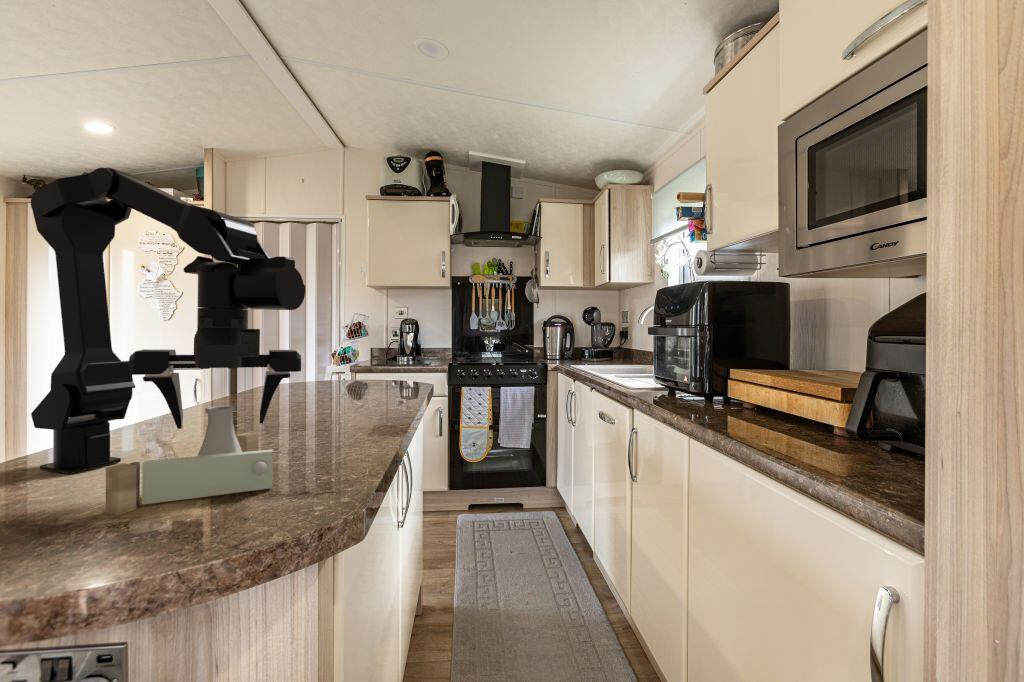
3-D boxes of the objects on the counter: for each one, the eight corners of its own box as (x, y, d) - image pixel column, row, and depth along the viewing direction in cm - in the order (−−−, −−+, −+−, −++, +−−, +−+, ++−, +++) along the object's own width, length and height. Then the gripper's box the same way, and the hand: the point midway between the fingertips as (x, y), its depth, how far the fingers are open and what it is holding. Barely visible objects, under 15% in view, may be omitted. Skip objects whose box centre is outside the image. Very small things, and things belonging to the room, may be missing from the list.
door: (144, 500, 53) (144, 460, 53) (272, 485, 60) (272, 449, 60) (140, 507, 51) (140, 466, 51) (272, 490, 58) (273, 453, 58)
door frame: (105, 512, 50) (105, 467, 50) (247, 465, 69) (247, 432, 68) (118, 515, 50) (119, 469, 50) (257, 466, 68) (258, 433, 68)
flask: (222, 493, 57) (222, 413, 57) (172, 488, 59) (173, 410, 58) (263, 475, 64) (263, 404, 64) (218, 471, 66) (218, 402, 65)
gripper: (116, 303, 49) (115, 446, 50) (305, 310, 58) (303, 432, 59) (139, 306, 59) (138, 426, 59) (298, 312, 68) (297, 416, 69)
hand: (222, 425), depth 61 cm, fingers open, 9 cm apart
